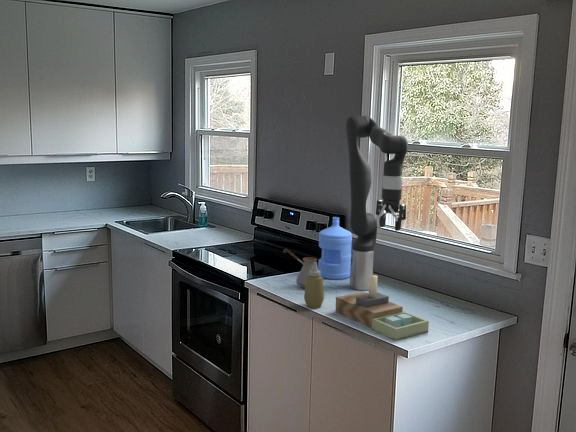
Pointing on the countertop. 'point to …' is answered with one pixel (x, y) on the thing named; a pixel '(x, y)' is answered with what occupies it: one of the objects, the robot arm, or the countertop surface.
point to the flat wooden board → (364, 309)
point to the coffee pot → (303, 269)
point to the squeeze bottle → (314, 288)
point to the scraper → (372, 295)
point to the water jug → (335, 251)
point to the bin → (402, 332)
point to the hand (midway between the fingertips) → (389, 228)
